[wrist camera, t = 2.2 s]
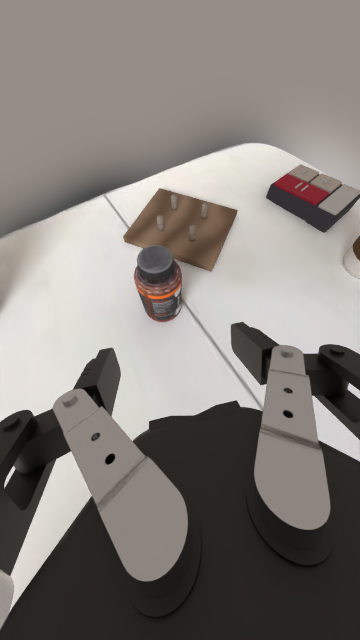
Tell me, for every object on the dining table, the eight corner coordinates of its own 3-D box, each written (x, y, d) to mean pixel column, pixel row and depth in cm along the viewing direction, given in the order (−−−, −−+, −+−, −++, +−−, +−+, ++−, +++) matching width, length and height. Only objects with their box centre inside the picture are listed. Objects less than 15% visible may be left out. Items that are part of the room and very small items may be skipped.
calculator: (300, 161, 41) (367, 189, 36) (290, 182, 45) (349, 210, 40) (271, 181, 38) (339, 214, 33) (263, 201, 42) (323, 234, 37)
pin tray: (124, 241, 36) (119, 225, 32) (159, 193, 42) (158, 175, 38) (211, 271, 33) (215, 256, 30) (235, 215, 39) (241, 198, 36)
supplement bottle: (188, 310, 30) (193, 263, 19) (157, 330, 28) (146, 291, 18) (168, 285, 32) (163, 230, 21) (138, 302, 30) (117, 253, 20)
